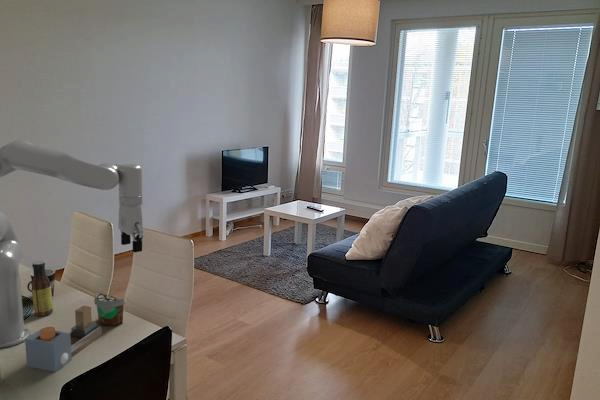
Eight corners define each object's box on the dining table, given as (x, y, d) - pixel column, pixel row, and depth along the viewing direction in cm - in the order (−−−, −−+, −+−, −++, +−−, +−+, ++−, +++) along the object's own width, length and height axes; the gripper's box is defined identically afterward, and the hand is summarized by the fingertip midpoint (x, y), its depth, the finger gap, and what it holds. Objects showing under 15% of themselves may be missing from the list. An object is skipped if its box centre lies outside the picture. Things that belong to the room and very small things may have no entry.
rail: (45, 355, 151) (45, 347, 150) (82, 331, 167) (81, 323, 167) (67, 360, 149) (67, 351, 149) (102, 334, 165) (102, 326, 165)
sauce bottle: (56, 310, 182) (53, 260, 177) (46, 317, 176) (43, 266, 171) (40, 308, 182) (36, 258, 178) (29, 316, 176) (25, 264, 172)
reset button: (37, 345, 145) (36, 331, 144) (47, 339, 148) (46, 325, 147) (49, 347, 144) (48, 334, 143) (58, 341, 147) (57, 328, 146)
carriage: (71, 336, 160) (70, 311, 158) (83, 328, 166) (82, 304, 164) (84, 338, 159) (83, 313, 157) (96, 330, 164) (95, 306, 163)
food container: (87, 322, 174) (86, 296, 172) (101, 316, 179) (100, 290, 177) (111, 331, 168) (110, 304, 166) (125, 324, 173) (124, 298, 171)
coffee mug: (50, 290, 199) (49, 267, 197) (60, 296, 194) (59, 272, 192) (20, 298, 190) (18, 274, 188) (29, 305, 185) (27, 280, 183)
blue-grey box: (27, 366, 145) (24, 338, 143) (44, 354, 152) (42, 328, 150) (56, 372, 143) (54, 344, 141) (72, 360, 149) (71, 333, 148)
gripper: (110, 196, 170) (111, 243, 173) (130, 206, 157) (131, 256, 161) (131, 194, 175) (131, 240, 178) (152, 204, 162) (152, 252, 166)
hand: (131, 247), depth 170 cm, fingers open, 9 cm apart
